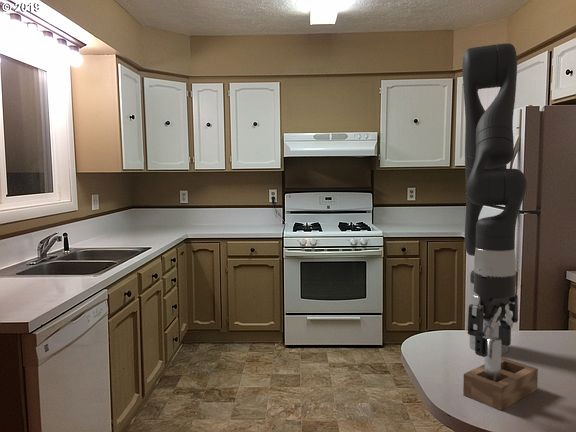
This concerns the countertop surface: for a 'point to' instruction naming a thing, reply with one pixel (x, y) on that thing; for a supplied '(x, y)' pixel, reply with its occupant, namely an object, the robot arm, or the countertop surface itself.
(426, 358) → the countertop surface
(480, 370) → the hole block
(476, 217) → the robot arm
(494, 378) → the peg
